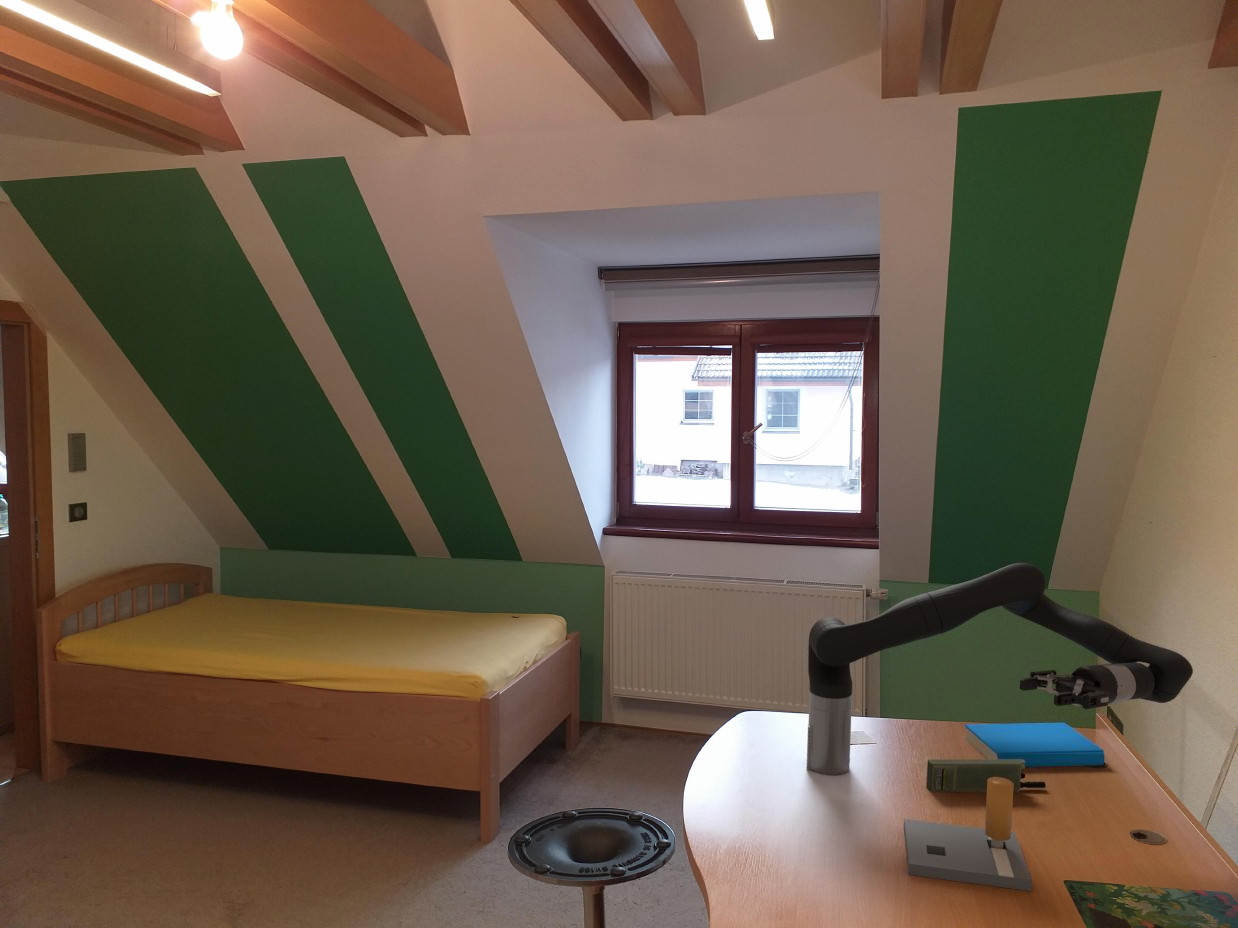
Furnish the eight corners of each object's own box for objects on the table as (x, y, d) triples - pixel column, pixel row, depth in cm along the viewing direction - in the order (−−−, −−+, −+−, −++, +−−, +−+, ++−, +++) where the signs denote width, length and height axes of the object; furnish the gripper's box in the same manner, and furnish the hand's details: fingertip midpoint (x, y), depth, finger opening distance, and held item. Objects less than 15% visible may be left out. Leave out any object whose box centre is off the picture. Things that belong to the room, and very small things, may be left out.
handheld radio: (924, 786, 199) (1040, 786, 199) (930, 794, 196) (1047, 794, 196) (926, 757, 198) (1042, 757, 198) (931, 764, 195) (1050, 764, 195)
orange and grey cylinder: (985, 859, 169) (989, 785, 167) (982, 847, 173) (985, 775, 172) (1011, 862, 168) (1015, 788, 166) (1007, 850, 172) (1011, 778, 171)
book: (964, 724, 224) (1063, 720, 226) (963, 741, 225) (1062, 737, 227) (998, 753, 207) (1105, 749, 209) (998, 772, 208) (1105, 767, 210)
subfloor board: (908, 874, 164) (909, 862, 164) (903, 828, 180) (904, 817, 180) (1030, 890, 159) (1031, 878, 159) (1014, 841, 175) (1015, 831, 175)
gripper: (1075, 654, 188) (1011, 661, 182) (1136, 677, 174) (1069, 685, 169) (1072, 690, 188) (1008, 698, 183) (1133, 715, 175) (1066, 725, 169)
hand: (1037, 692), depth 176 cm, fingers open, 8 cm apart
